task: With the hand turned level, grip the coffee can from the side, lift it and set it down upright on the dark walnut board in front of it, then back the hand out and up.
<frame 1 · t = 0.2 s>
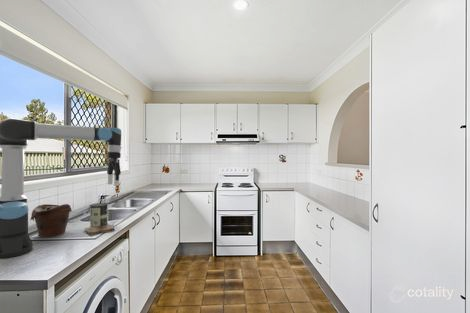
hand: (113, 185, 161), 27 cm above the countertop, tool pointing down, fingers open, 13 cm apart
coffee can: (98, 226, 165), on the countertop
brown clay flowerpot: (51, 234, 149), on the countertop
walnut board: (99, 230, 154), on the countertop
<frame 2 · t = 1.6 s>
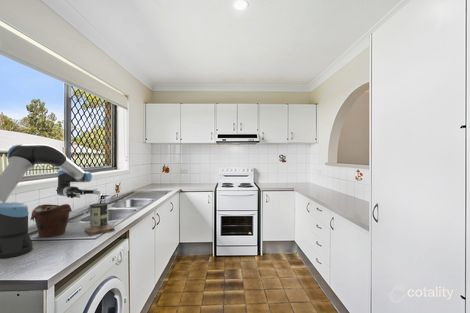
hand: (90, 194, 169), 20 cm above the countertop, tool horizontal, fingers open, 13 cm apart
nothing on the countertop moved.
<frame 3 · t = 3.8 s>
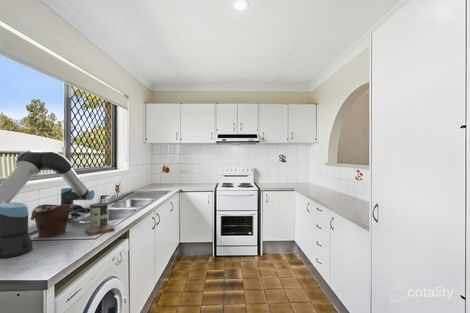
hand: (94, 213, 168), 8 cm above the countertop, tool horizontal, fingers open, 13 cm apart
nothing on the countertop moved.
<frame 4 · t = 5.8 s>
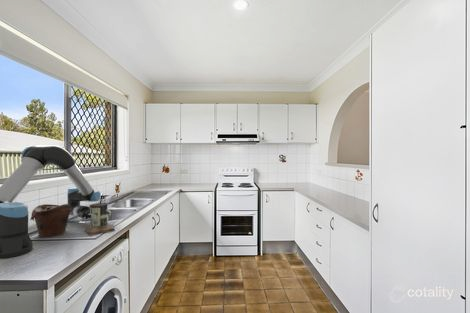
hand: (103, 215, 163), 8 cm above the countertop, tool horizontal, fingers closed on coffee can, 10 cm apart
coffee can: (98, 226, 165), on the countertop, touching gripper
everything else where it was.
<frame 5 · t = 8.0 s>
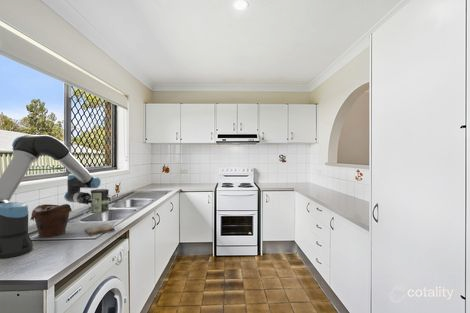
hand: (104, 200, 160), 18 cm above the countertop, tool horizontal, fingers closed on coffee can, 10 cm apart
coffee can: (99, 212, 162), point 10 cm above the countertop, touching gripper
everything else where it was.
when the fingers open (11 cm above the countertop, at t = 10.4 s): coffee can drops 1 cm, resting on walnut board.
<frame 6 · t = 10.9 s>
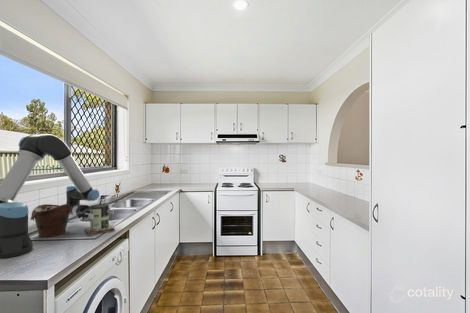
hand: (103, 214, 153), 11 cm above the countertop, tool horizontal, fingers open, 13 cm apart
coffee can: (99, 228, 154), point 1 cm above the countertop, touching walnut board
everything else where it was.
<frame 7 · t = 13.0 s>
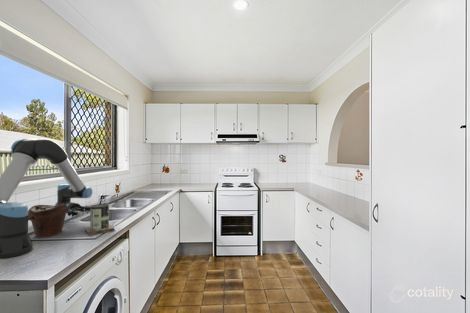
hand: (92, 211, 158), 11 cm above the countertop, tool horizontal, fingers open, 13 cm apart
brown clay flowerpot: (48, 234, 149), on the countertop, touching hand
everything else where it was.
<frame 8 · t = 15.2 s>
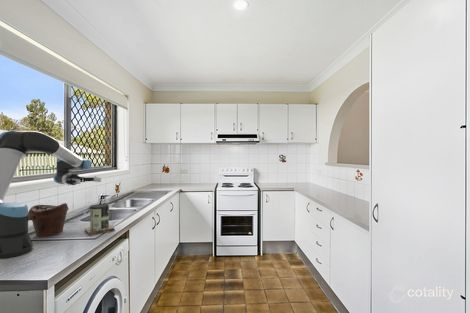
hand: (90, 180, 161), 30 cm above the countertop, tool horizontal, fingers open, 13 cm apart
brown clay flowerpot: (48, 233, 149), on the countertop
everything else where it was.
at the end: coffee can 0.1 cm off-centre on the walnut board, point 1.3 cm above the walnut board's base; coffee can tilted 0°; the gripper is holding nothing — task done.
